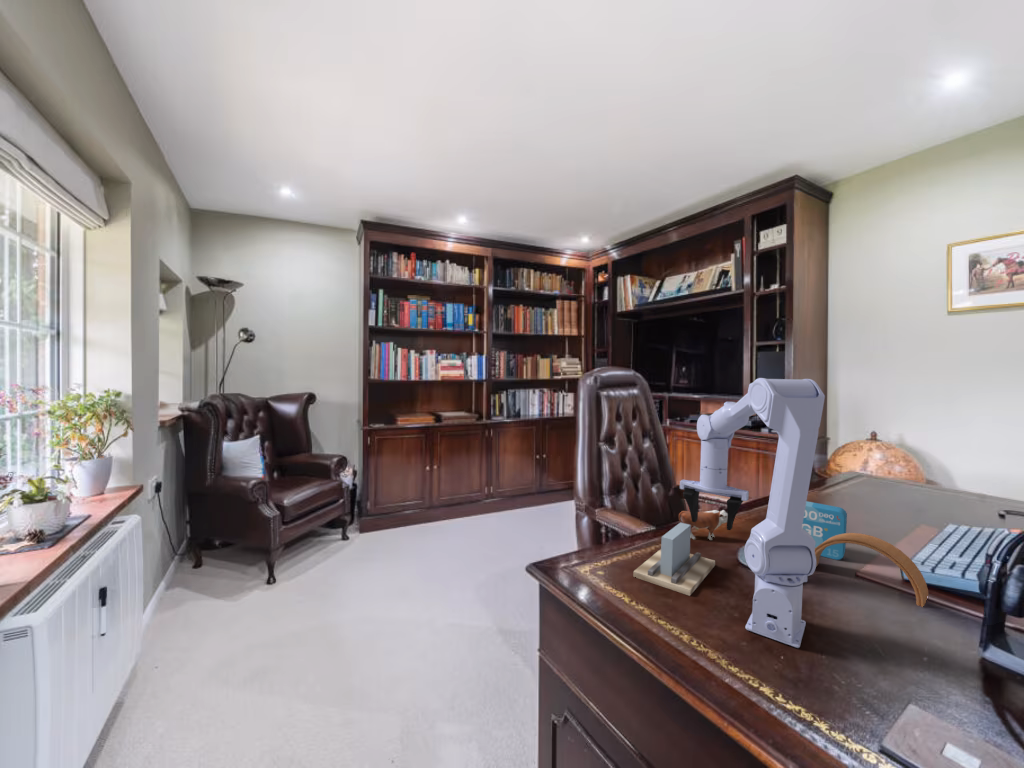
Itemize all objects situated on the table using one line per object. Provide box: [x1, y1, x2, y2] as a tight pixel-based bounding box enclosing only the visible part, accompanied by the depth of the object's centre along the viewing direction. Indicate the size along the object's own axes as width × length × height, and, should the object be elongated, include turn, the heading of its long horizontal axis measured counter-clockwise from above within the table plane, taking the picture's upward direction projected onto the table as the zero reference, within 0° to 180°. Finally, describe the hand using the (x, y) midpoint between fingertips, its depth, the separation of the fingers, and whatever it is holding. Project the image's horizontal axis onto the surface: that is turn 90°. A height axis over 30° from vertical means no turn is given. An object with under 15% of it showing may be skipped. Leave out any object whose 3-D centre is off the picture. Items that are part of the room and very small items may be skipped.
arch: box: [815, 532, 929, 608], centre depth 94 cm, size 6×20×10 cm, turn 38°
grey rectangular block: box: [660, 521, 692, 577], centre depth 98 cm, size 12×2×8 cm, turn 140°
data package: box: [802, 500, 848, 561], centre depth 110 cm, size 12×4×12 cm, turn 48°
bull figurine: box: [678, 509, 728, 541], centre depth 117 cm, size 4×13×8 cm, turn 78°
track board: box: [632, 548, 716, 597], centre depth 98 cm, size 18×12×2 cm, turn 140°
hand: (711, 524), depth 101 cm, fingers open, 7 cm apart
